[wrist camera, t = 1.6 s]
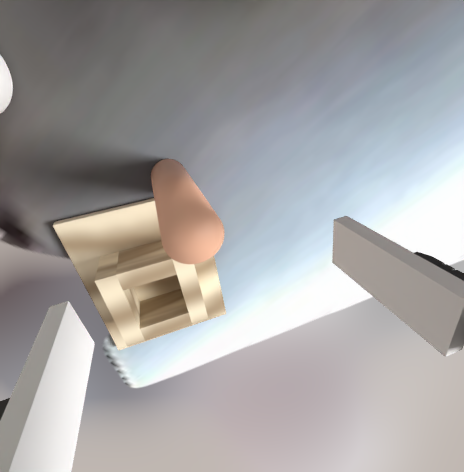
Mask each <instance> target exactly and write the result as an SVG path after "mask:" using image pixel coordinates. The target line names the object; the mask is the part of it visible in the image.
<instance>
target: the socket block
mask: <svg viewBox="0 0 464 472" xmlns="http://www.w3.org/2000/svg"><path fill="white" fill-rule="evenodd" d="M199 190H200V189H199ZM53 227H54V229H55V231H56V233H57V234H58V236H59V238H60V240H61V242H62V244H63V246H64V248H65V250H66V251H67V253H68V255H69V257H70V259H71V261H72V263H73V265H74V267H75V268H76V270H77V272H78V274H79V276H80V278H81V280H82V282H83V284H84V285H85V287H86V289H87V291H88V293H89V295H90V297H91V299H92V301H93V303H94V304H95V306H96V308H97V310H98V312H99V314H100V316H101V318H102V319H103V321H104V323H105V325H106V327H107V329H108V331H109V333H110V335H111V337H112V338H113V340H114V342H115V344H116V346H117V348H118V350H122V349H124V348H127V347H130V346H133V345H136V344H139V343H142V342H145V341H148V340H151V339H154V338H157V337H160V336H163V335H165V334H168V333H171V332H174V331H177V330H180V329H183V328H186V327H189V326H192V325H195V324H198V323H201V322H203V321H206V320H209V319H212V318H215V317H218V316H221V315H224V314H226V310H225V306H224V301H223V296H222V292H221V287H220V282H219V278H218V273H217V268H216V263H215V259H214V256H212V257H211V258H210V259H208V260H206V261H204V262H201V263H198V264H183V263H179V262H177V261H175V260H173V259H172V258H171V257H169V256H168V255H167V253H166V252H165V250H164V248H163V246H162V241H161V235H160V229H159V223H158V217H157V211H156V205H155V199H154V198H152V199H148V200H144V201H140V202H136V203H131V204H127V205H123V206H119V207H115V208H110V209H106V210H102V211H98V212H94V213H90V214H85V215H81V216H77V217H73V218H69V219H64V220H60V221H56V222H55V223H54V224H53Z"/></svg>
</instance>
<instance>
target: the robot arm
mask: <svg viewBox="0 0 464 472" xmlns="http://www.w3.org/2000/svg"><path fill="white" fill-rule="evenodd" d="M332 262H333V263H334V264H335V265H336V266H337V267H338V268H340V269H341V270H342V271H343V272H344V273H346V274H347V275H348V276H349V277H350V278H352V279H353V280H354V281H355V282H356V283H358V284H359V285H360V286H361V287H362V288H364V289H365V290H366V291H367V292H368V293H370V294H371V295H372V296H373V297H374V298H376V299H377V300H378V301H379V302H380V303H382V304H383V305H384V306H385V307H386V308H388V309H389V310H390V311H391V312H392V313H394V314H395V315H396V316H397V317H398V318H399V319H401V320H402V321H403V322H404V323H405V324H407V325H408V326H409V327H410V328H411V329H413V330H414V331H415V332H416V333H417V334H419V335H420V336H421V337H422V338H424V339H425V340H426V341H427V342H428V343H429V344H431V345H432V346H433V347H434V348H435V349H436V350H438V351H439V352H440V353H441V354H443V355H444V356H445V357H446V356H448V355H451V354H453V353H455V352H457V351H459V350H461V349H462V348H463V345H464V273H462V272H460V271H458V270H455V269H454V268H452V267H451V266H449V265H447V264H446V265H445V264H444V263H443V262H441V261H439V260H437V259H436V258H434V257H432V256H429V255H425V254H422V253H419V252H416V253H412V252H411V251H409V250H407V249H405V248H403V247H402V246H400V245H398V244H396V243H394V242H393V241H391V240H389V239H387V238H385V237H384V236H382V235H380V234H378V233H376V232H375V231H373V230H371V229H369V228H368V227H366V226H364V225H362V224H360V223H359V222H357V221H355V220H353V219H351V218H350V217H348V216H344V217H341V218H338V219H334V229H333V260H332ZM94 344H95V343H94V342H93V340H92V338H91V337H90V335H89V333H88V332H87V330H86V329H85V327H84V325H83V324H82V322H81V320H80V319H79V317H78V315H77V314H76V312H75V311H74V309H73V308H72V306H71V304H70V303H69V301H67V302H64V303H60V304H57V305H54V306H51V307H49V309H48V312H47V314H46V316H45V319H44V321H43V323H42V326H41V328H40V330H39V333H38V335H37V337H36V339H35V342H34V344H33V346H32V349H31V351H30V353H29V356H28V358H27V360H26V362H25V365H24V367H23V369H22V372H21V374H20V376H19V379H18V381H17V383H16V386H15V388H14V390H13V392H12V395H11V397H10V398H8V399H6V400H3V401H0V472H71V470H72V465H73V459H74V454H75V448H76V443H77V437H78V432H79V426H80V421H81V415H82V410H83V404H84V399H85V393H86V388H87V382H88V377H89V372H90V366H91V361H92V355H93V350H94Z"/></svg>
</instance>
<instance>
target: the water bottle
mask: <svg viewBox="0 0 464 472" xmlns="http://www.w3.org/2000/svg"><path fill="white" fill-rule="evenodd" d="M12 93H13V84H12V78H11V75H10V71H9V69H8V67H7V65H6V63H5V61H4V60H3V58H2V56H1V55H0V113H2V112H3V111H4V110H5V109H6V108H7V106H8V105H9V103H10V101H11V98H12Z"/></svg>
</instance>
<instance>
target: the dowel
mask: <svg viewBox="0 0 464 472" xmlns="http://www.w3.org/2000/svg"><path fill="white" fill-rule="evenodd" d="M151 181H152V187H153V193H154V199H155V205H156V211H157V217H158V223H159V229H160V235H161V241H162V246H163V248H164V250H165V252H166V253H167V255H168V256H169V257H171V258H172V259H173V260H175V261H177V262H179V263H183V264H198V263H201V262H204V261H206V260H208V259H210V258H211V257H212V256H214V255H215V254H216V253H217V251H218V250H219V249H220V247H221V245H222V243H223V240H224V227H223V224H222V222H221V220H220V219H219V217H218V216H217V214H216V213H215V211H214V210H213V209H212V207H211V206H210V204H209V203H208V201H207V200H206V199H205V197H204V196H203V194H202V193H201V191H200V190H199V188H198V187H197V186H196V184H195V183H194V181H193V180H192V178H191V177H190V176H189V174H188V173H187V171H186V170H185V168H184V167H183V166H182V165H181V164H180V163H179V162H178V161H176V160H173V159H164V160H161V161H159V162H158V163H156V164H155V165H154V167H153V169H152V171H151Z"/></svg>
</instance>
